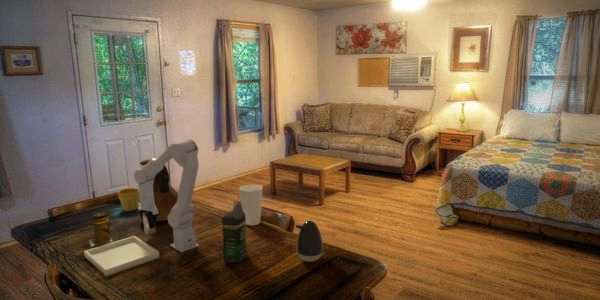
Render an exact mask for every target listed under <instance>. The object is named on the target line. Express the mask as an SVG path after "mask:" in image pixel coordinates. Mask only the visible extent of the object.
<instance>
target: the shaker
mask: <svg viewBox="0 0 600 300" xmlns="http://www.w3.org/2000/svg"><path fill="white" fill-rule="evenodd" d="M145 213H149V211H144V212H142V215H143V220H142V222H143V231H144V234H145V235H152V234H155V233H156V232H157V228H156V226H155V228H152V229H150V228H149V224H148V220H147V218H146V216H145V215H144V214H145Z"/></svg>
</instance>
